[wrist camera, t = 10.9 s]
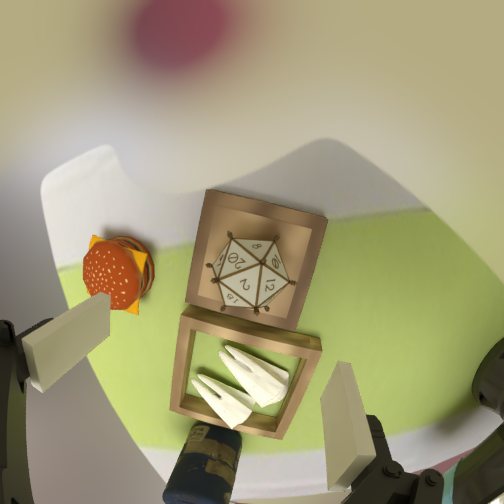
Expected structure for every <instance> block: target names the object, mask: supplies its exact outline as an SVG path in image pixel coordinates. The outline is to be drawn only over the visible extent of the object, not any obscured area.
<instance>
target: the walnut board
mask: <svg viewBox="0 0 504 504" xmlns="http://www.w3.org/2000/svg"><path fill="white" fill-rule="evenodd" d="M327 223H328V219H327V218H325V217H322V216H318V215H315V214H311V213H307V212H303V211H299V210H296V209H292V208H288V207H284V206H280V205H276V204H272V203H268V202H264V201H260V200H256V199H251V198H247V197H243V196H239V195H234V194H230V193H225V192H221V191H216V190H211V189H206V193H205V198H204V202H203V207H202V212H201V217H200V222H199V226H198V232H197V237H196V242H195V247H194V253H193V258H192V263H191V269H190V275H189V281H188V287H187V293H186V299H185V302H187V303H190V304H193V305H196V306H200V307H203V308H207V309H210V310H214V311H217V312H220V308H221V306H223V305H224V303H223V300H222V297H221V294H220V291H219V288H218V285H217V283H215V284H213V283H212V282H210V281H211V279H212V278H215V276H214V273H213V270H212V268H207V267H206V266H205V264H207V263H211V264H212V265H213V263H214V262H215V261H216V259H217V258H218V256H219V255H220V253H221V252H222V251H223V249H224V248H225V246H226V245H227V243H228V242H229V240H230V238H229V237H228V236H227V231H230V232H232V234H233V238H246V239H261V240H273V239H274V237H275V235H278V234H280V239H279V240H278V241H276V245H277V247H278V250H279V253H280V255H281V258H282V261H283V263H284V266H285V269H286V272H287V274H288V277H289V280H290V281H292V280H293V281H296V282H297V283H298V284H297V285H291V284H288V285H287V286H286V287H285V288H284V289H283V290H282V291H281V292H280V293H279V294H278V295H277V296H276V297H275V298H274V299H273V300H272V301H271V302H270V303H269V304H268V305H267V306H269V308H270V309H269V312H267V311H265V309H264V307H262V308H258V309H259V313H260V314H259V315H258V316H256V315H255V314H254V309H249V308H237V307H226V309H225V311H223V312H221V313H224V314H228V315H231V316H235V317H239V318H243V319H246V320H250V321H254V322H258V323H262V324H266V325H270V326H274V327H278V328H282V329H286V330H290V331H294V332H295V329H296V326H297V323H298V320H299V317H300V314H301V311H302V308H303V305H304V302H305V299H306V295H307V292H308V289H309V286H310V282H311V279H312V276H313V272H314V269H315V266H316V262H317V259H318V255H319V252H320V248H321V245H322V241H323V238H324V234H325V230H326V227H327Z"/></svg>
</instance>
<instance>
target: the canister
mask: <svg viewBox="0 0 504 504" xmlns="http://www.w3.org/2000/svg"><path fill="white" fill-rule="evenodd" d="M241 448H242V441H241V438H240V437H239V435H238V434H237V433H236V432H235V431H234V430H232V429H229V428H226V427H222V426H218V425H215V424H211V423H208V422H204V423H200V424H197V425H195V426H194V427H193V428H192V429H191V430H190V432H189V436H188V438H187V440H186V442H185V444H184V447H183V449H182V451H181V453H180V455H179V457H178V460H177V463H176V465H175V467H174V469H173V472H172V474H171V476H170V478H169V481H168V483H167V485H166V489H165V490H164V492H163V501H164V502H165V504H229V502H230V498H231V494H232V490H233V486H234V482H235V475H236V471H237V467H238V462H239V458H240V453H241Z"/></svg>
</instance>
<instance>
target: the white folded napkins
mask: <svg viewBox="0 0 504 504" xmlns="http://www.w3.org/2000/svg"><path fill="white" fill-rule="evenodd" d="M225 348H226V349H227V350H228V351H229V352H230V353H231V354H232V355H233V356H234V357H235V359H233V358H231V357H230V356H228V355H227V354H226V353H224V352H223V351H222V350H219V351H218V354H219V356H220V358H221V359H222V361H223V362H224V363H225V365H226V366H227V368H228V369H229V370H230V372H231V373H232V374H233V375H234V377H235V378H236V379H237V380H238V382H239V383H240V384H241V385H242V386H243V388H244V389H245V390H246V391H247V392H248V393H249V394H250V395H248V394H246V393H244V392H241V391H239V390H237V389H235V388H233V387H230V386H228V385H226V384H224V383H221V382H219V381H217V380H215V379H213V378H210V377H208V376H205V375H203V374H197V376H198V377H199V378H200V379H201V380H202V381H203V382H204V383H205V384H207V385H208V386H209V387H211V388H212V389H213V390H214V391H216V392H217V393H216V394H215V395H214V394H213V393H212V392H210V391H209V390H208V389H207V388H205V387H204V386H203V385H202V384H201V383H199V382H198V381H197V380H195V379H194V378H192V379H191V382H192V383H193V385H194V386H195V388H196V389H197V390H198V392H199V393H200V394H201V396H202V397H203V398H204V399H205V400H206V402H207V403H208V404H209V405H210V406H211V407H212V409H213V410H214V411H215V412H216V413H217V414H218V415H219V416H220V417H221V418H222V419H223V420H224V422H225V423H226V424H227V425H228V426H229V427H230V428H231V429H233V427H235V426H236V425H237V424H241V423H243V422H244V421H245V420H246V419H247V418H248V417H249V416H250V414H251V412H252V408H253V406H254V404H255V402H257V403H258V404H259V406H260V407H264V406H267V405H269V404H272V403H275V402H278V401H280V400H282V399H283V398H284V396H285V395H286V393H287V390H288V383H289V382H288V378H289V373H288V372H287V371H284V370H282V369H280V368H278V367H275V366H273V365H271V364H269V363H267V362H265V361H263V360H261V359H258V358H256V357H254V356H252V355H250V354H248V353H246V352H244V351H241V350H239V349H237V348H234V347H232V346H229V345H225Z"/></svg>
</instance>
